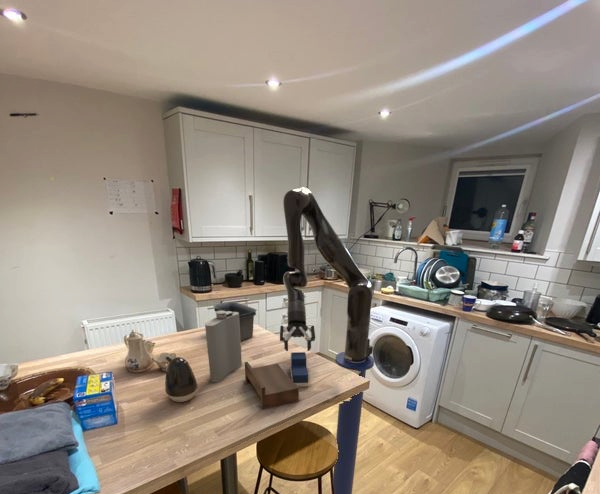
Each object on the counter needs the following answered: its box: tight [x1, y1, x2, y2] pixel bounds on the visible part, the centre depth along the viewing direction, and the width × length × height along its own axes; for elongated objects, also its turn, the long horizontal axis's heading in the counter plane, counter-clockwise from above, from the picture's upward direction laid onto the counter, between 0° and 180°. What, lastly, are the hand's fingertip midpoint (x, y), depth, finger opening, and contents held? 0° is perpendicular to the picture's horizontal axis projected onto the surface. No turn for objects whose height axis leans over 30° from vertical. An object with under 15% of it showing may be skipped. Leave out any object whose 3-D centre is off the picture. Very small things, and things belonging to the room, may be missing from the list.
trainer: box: [290, 351, 310, 387], centre depth 128 cm, size 14×6×8 cm, turn 5°
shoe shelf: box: [244, 361, 300, 410], centre depth 119 cm, size 13×20×8 cm, turn 24°
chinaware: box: [123, 329, 177, 373], centre depth 134 cm, size 28×17×17 cm, turn 54°
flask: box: [204, 311, 243, 383], centre depth 127 cm, size 17×5×25 cm, turn 155°
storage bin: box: [212, 301, 257, 341], centre depth 165 cm, size 21×16×14 cm
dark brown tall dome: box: [164, 356, 198, 403], centre depth 112 cm, size 10×10×15 cm
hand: (297, 350), depth 133 cm, fingers open, 8 cm apart
